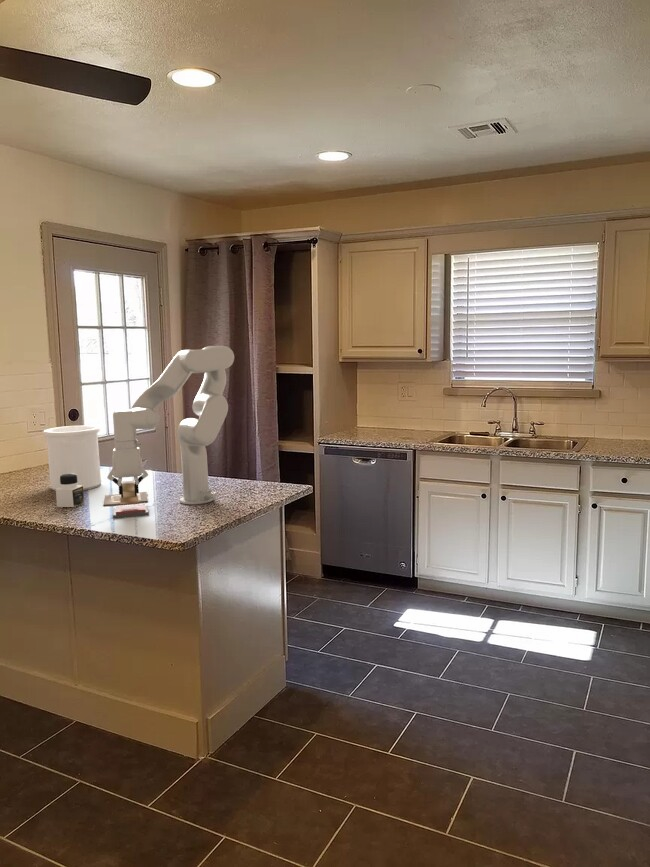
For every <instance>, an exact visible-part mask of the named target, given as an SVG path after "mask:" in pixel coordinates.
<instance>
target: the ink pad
mask: <svg viewBox="0 0 650 867" xmlns="http://www.w3.org/2000/svg"><path fill="white" fill-rule="evenodd" d="M149 512H150V511H149V506H148V505H146V504H145V503H140V504H132V505H119V506H116V507H115V508H114V507H113V512H112V519H113V518H116V519H125V517H126V518H135V517H136V516H137V517H145V515H147V516H150V514H149Z"/></svg>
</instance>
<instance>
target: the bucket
mask: <svg viewBox="0 0 650 867" xmlns="http://www.w3.org/2000/svg"><path fill="white" fill-rule="evenodd" d="M99 432H100V426H97V425H89V424H88V425H83V424H82V425H68V426H67V425H66V426H58V427H52V428H47V429H44V430H43V432H42V434H43V436H44V437H45V438H46V450H47V459H48V460H47V461H48V462H47V463H48V471H49V484H50V485H49V486H50V488H51V490H52V491H54V492H56V489H57V488H60V487H62V486H61V484H60V476H61V475H63V474H76V475H77V482H78V484H77V485H82V486H83V491H87V490H92V488H93V489H95V488H98V487H99V486H100V485H101V484H102V477H101V476H102V475H101V464H100V463H101V462H100V448H99V439H98V437H99V436H98V433H99Z"/></svg>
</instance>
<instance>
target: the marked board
mask: <svg viewBox="0 0 650 867" xmlns="http://www.w3.org/2000/svg"><path fill="white" fill-rule="evenodd" d="M147 492H148V491H141V492H140V491H139V493H137V494H138V504H145V503H148V502H149V501H148V493H147ZM120 495H121V494H120ZM120 495H119V493H118V494H108V495H107V494H106V495H104V500H103V507H111V506H110V505H113V506H122V505H121V503H120ZM144 502H145V503H144Z"/></svg>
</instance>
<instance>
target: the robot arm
mask: <svg viewBox="0 0 650 867" xmlns="http://www.w3.org/2000/svg"><path fill="white" fill-rule="evenodd" d="M234 361H235V354H234V350H232V349H231V348H230V347H228V346H226V345H208V346H205V347H203V348H200V349H182V350H180V351H178V352H177V353H176V354H175V356H173V358H172V360H171V361H170V362H169V364H168V365H167V366H166V368H165V369H164V371H163V372H162V373H161V375H160V376H159V377H158V379H157V380H156V381H155V382H153V383H152V384H151V385H150V386H149V387H147V388H146V389H145V390H144V391H143V392H142V393H141V394H140V395H139V397H138V398H137V399H136V400H135V402H134V403H133V405H132V406H131V407H130V409H117V410H115V411H113V413H112V421H113V435H114V437H113V438H114V448H113V449H112V456H111V466H112V468H111V471H109V473H108V475H107V479H108V480H109V481H111V482H113V483H115V484H116V485H117V486H118V494H119V495H120V494H121V497H123V486H122V482H123V478H134V480H133V481H134V488H135V496H137V493H139V492H140V491H139V484H140V483H141V482H142V481H143V480H144V479H145V478H147V477H148V476H149V473H148V472H147V471H146V469H145V468H144V466H143V461H142V453H141V449H140V447H139V446H140V445H142V440H138V439H137V438H138V436H137V430H152V429H154V428H156V427H157V426H158V425H159V423H160V420H161V419H160V418H161V417H160V414H159V413H158V412H157V411H156V410H155V409H156V408H157V407H158V406H159V405H160V404H161V403H163V402H164V401H166V400H168V399H171V398H172V397H174V396H176V395H177V394H178V393H179V392H180V391H181V389H182V387H183V386H184V385H185V383H186V382H187V380H188V379H189V378H190V376H192V374H202V373H204V376H203V381H202V383H201V386H200V388H199V390H198V392H197V394H196V395H195V398H194V400H193V402H192V407H191V408H192V411H193V414H195V415H196V416H198V418H197V417H196V418H195V417H187V418H184V419H183V420H181V422H180V423H179V424H178V426H177V438H178V443H179V448H180V457H181V460H180V461H181V474H182V475H181V477H182V478H181V479H182V492H183V496H182V497H180V498H179V503H181V504H183V505H203V504H207V503H210V502H212V501H214V500H215V499H216V497H217V495H218V494H217V492H212V488H211V487H210V488H209V472H208V470H209V469H208V455H207V448H206V447H207V446H210V445H211V444H213V442H214V441H215V440H216V438H217V436H218V434H219V433H220V431H221V428H222V426H223V424H224V422H225V419H226V418H227V415H228V411H229V404H228V401H227V398H226V397H225V396H224V395H223V393H224V390H225V387H226V384H227V374H226V369H228V368H230V367H231V366H232V365H233V363H234Z"/></svg>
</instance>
